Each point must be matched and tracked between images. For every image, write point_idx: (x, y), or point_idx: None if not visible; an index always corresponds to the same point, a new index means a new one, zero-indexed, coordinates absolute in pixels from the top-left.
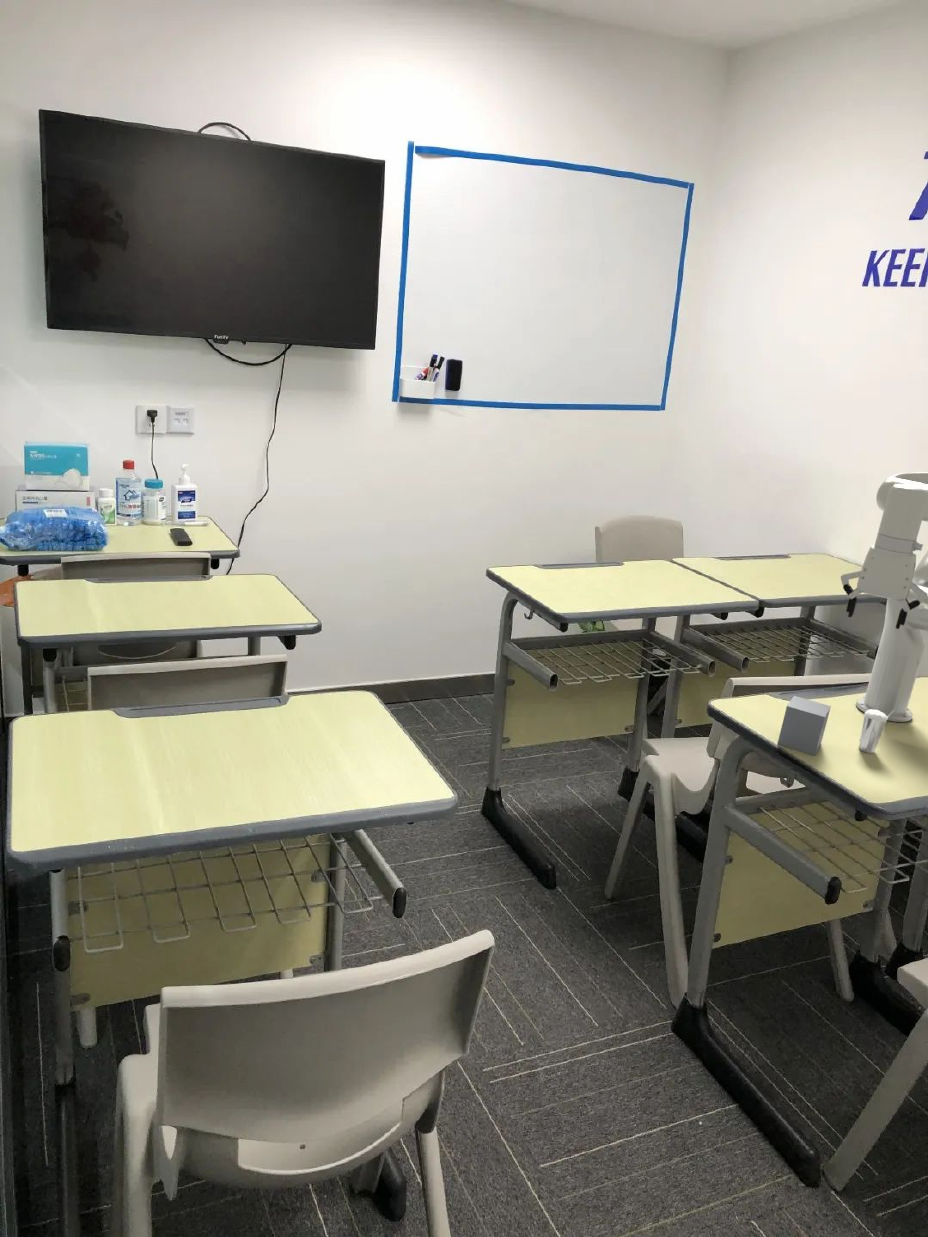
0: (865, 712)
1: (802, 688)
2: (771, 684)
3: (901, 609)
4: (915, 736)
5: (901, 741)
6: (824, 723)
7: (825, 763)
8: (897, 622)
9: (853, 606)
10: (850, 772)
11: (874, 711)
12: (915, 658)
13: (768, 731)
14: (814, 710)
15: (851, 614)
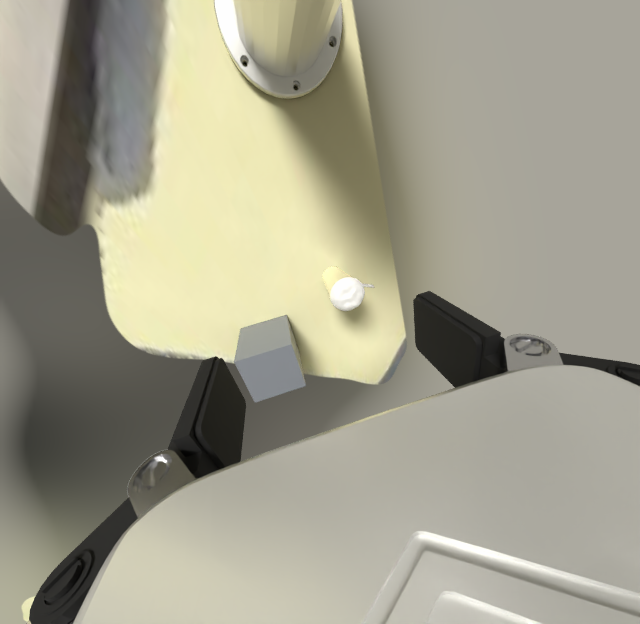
0: (332, 302)
1: (89, 54)
2: (43, 117)
3: (477, 364)
4: (367, 129)
5: (356, 185)
6: (298, 359)
7: (315, 356)
8: (432, 361)
9: (238, 450)
10: (341, 350)
11: (346, 300)
12: None
13: (227, 344)
14: (285, 380)
15: (242, 412)
